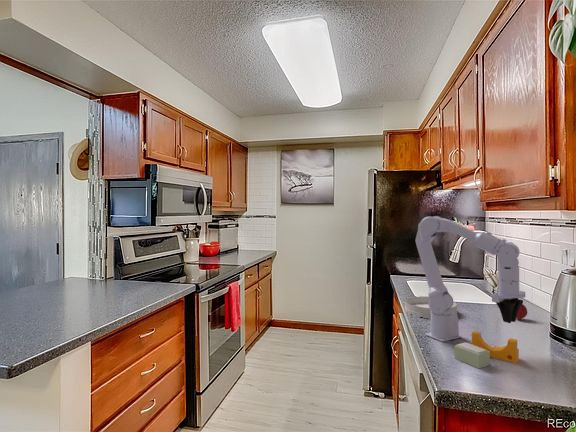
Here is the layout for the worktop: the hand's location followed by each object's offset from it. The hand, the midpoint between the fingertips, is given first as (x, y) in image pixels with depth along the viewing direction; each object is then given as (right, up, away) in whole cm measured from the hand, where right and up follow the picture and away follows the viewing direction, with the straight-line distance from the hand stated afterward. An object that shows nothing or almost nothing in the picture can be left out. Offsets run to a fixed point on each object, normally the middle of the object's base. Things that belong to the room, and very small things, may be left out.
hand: (509, 321), depth 113 cm
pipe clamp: (-7, -10, -4) cm, 13 cm away
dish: (-7, -10, +44) cm, 46 cm away
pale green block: (-17, -10, -8) cm, 21 cm away
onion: (+25, -9, +32) cm, 41 cm away
